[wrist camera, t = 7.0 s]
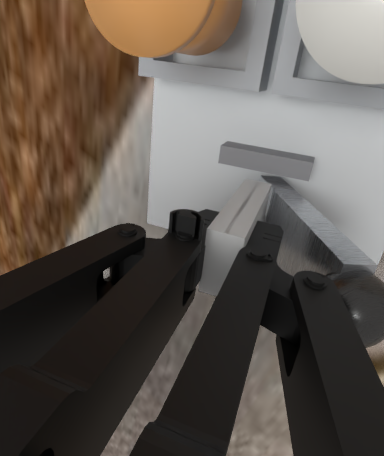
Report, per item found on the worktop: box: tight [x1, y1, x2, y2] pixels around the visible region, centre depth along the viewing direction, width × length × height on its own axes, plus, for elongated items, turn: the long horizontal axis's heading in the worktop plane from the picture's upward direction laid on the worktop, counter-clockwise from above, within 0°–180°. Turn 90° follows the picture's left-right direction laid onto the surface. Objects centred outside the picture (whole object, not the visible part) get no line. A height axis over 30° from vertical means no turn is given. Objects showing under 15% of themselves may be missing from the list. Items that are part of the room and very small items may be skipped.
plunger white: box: [296, 0, 384, 84], centre depth 10 cm, size 5×5×5 cm
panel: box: [139, 0, 384, 265], centre depth 18 cm, size 15×18×4 cm
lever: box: [259, 175, 384, 348], centre depth 15 cm, size 3×3×11 cm
